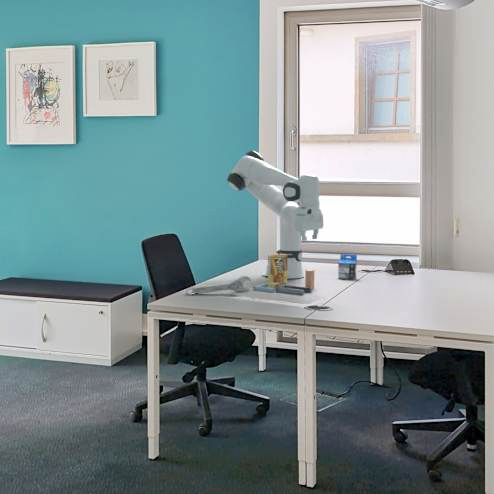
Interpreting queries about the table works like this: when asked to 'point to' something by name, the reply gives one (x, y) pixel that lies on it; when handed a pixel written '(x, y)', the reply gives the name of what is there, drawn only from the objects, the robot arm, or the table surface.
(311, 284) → the pinkish tan block
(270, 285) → the chip
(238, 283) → the wrench
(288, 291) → the channel
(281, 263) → the candy box
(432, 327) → the table surface
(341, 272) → the label tape cartridge
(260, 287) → the tray
